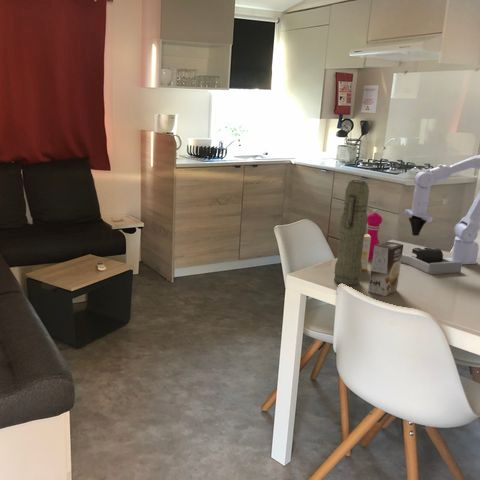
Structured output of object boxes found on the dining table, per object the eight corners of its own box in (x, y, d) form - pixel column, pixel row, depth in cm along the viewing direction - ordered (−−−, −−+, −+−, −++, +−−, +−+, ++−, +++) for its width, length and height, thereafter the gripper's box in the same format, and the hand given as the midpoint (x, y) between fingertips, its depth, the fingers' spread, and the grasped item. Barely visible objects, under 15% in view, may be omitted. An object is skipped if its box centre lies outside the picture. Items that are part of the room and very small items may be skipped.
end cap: (421, 268, 208) (424, 251, 206) (409, 263, 214) (411, 246, 213) (441, 267, 212) (444, 250, 210) (429, 261, 218) (431, 245, 216)
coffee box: (385, 296, 174) (392, 249, 170) (367, 291, 178) (373, 244, 174) (397, 290, 181) (404, 244, 177) (379, 285, 185) (385, 240, 181)
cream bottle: (365, 267, 205) (369, 233, 202) (367, 271, 200) (371, 237, 197) (343, 265, 206) (347, 232, 202) (344, 269, 201) (348, 235, 198)
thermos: (362, 279, 190) (375, 180, 182) (355, 288, 180) (368, 184, 171) (338, 274, 194) (349, 177, 185) (329, 284, 183) (341, 181, 174)
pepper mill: (378, 261, 214) (385, 211, 209) (360, 259, 215) (366, 210, 210) (378, 256, 221) (384, 208, 216) (360, 254, 222) (366, 206, 217)
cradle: (432, 258, 222) (434, 249, 221) (463, 271, 207) (465, 261, 206) (397, 261, 216) (399, 251, 215) (427, 274, 200) (428, 264, 199)
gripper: (400, 198, 220) (396, 231, 224) (424, 206, 207) (419, 240, 211) (414, 198, 223) (410, 230, 226) (439, 205, 210) (433, 239, 213)
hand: (415, 235), depth 219 cm, fingers closed
